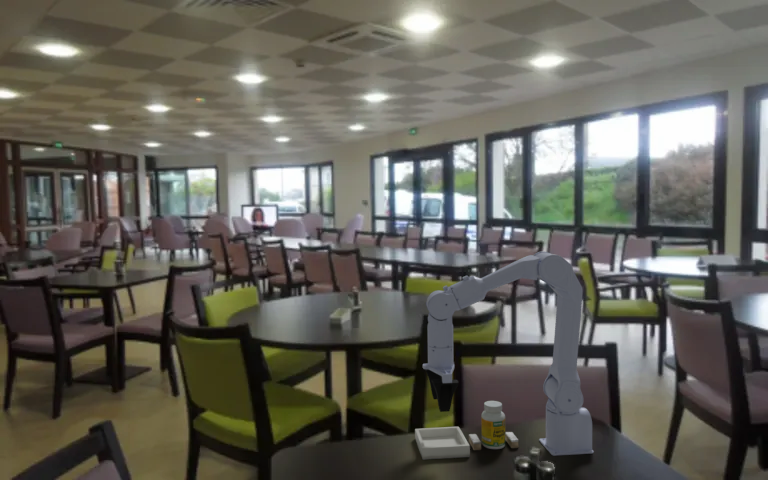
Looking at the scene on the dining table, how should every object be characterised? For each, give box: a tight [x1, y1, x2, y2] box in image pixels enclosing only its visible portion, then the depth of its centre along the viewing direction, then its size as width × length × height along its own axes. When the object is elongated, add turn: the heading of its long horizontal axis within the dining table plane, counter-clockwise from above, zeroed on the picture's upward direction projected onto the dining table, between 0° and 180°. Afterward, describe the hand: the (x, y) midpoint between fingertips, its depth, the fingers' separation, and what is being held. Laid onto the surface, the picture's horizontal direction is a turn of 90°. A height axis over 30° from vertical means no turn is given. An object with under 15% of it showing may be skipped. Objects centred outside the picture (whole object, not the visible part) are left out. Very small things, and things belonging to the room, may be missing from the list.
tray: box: [414, 426, 471, 460], centre depth 122 cm, size 10×10×2 cm
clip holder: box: [468, 431, 519, 451], centre depth 124 cm, size 10×4×2 cm, turn 95°
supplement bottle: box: [480, 400, 506, 450], centre depth 123 cm, size 5×5×10 cm
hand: (441, 404), depth 122 cm, fingers open, 7 cm apart
